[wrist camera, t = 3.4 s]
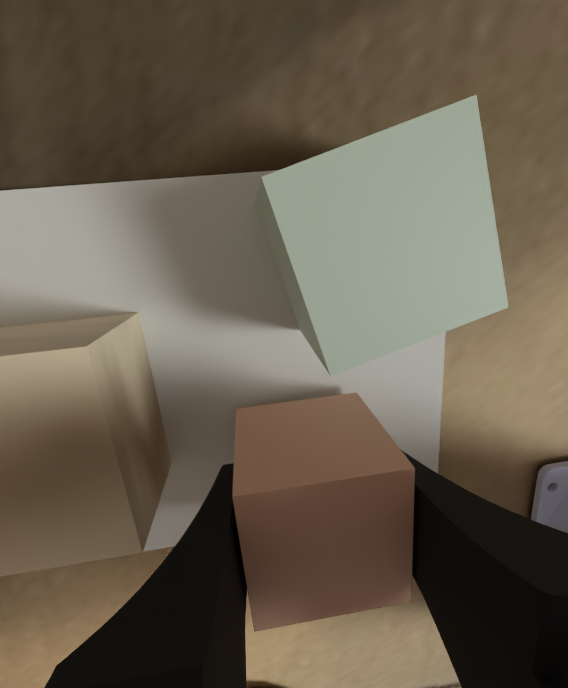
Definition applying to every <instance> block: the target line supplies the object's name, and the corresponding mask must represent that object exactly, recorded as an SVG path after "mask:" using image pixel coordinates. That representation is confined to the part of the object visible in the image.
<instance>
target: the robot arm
mask: <svg viewBox="0 0 568 688" xmlns="http://www.w3.org/2000/svg"><path fill="white" fill-rule="evenodd" d="M401 451H402V450H401ZM402 452H403V453H404V455H405V456H406V457H407V459H408V460H409V461H410V462H411V464H412V465H413V466H414V468H415V486H414V522H413V559H412V575H413V577H414V579H415V581H416V583H417V585H418V587H419V589H420V591H421V593H422V595H423V597H424V599H425V601H426V603H427V606H428V608H429V610H430V613H431V615H432V617H433V619H434V622H435V624H436V626H437V629H438V631H439V633H440V636H441V638H442V640H443V643H444V645H445V648H446V650H447V653H448V655H449V657H450V660H451V662H452V665H453V667H454V669H455V672H456V674H457V677H458V679H459V682H460V684H461V687H462V688H568V461H565V462H559V463H552V464H547V465H544V466H543V467H542V468H541V469H540V470H539V472H538V476H537V482H536V489H535V495H534V501H533V508H532V514H531V519H528V518H526V517H523V516H521V515H518V514H516V513H513V512H511V511H509V510H506V509H504V508H502V507H500V506H498V505H495V504H493V503H491V502H489V501H487V500H485V499H483V498H481V497H479V496H477V495H475V494H473V493H471V492H469V491H467V490H465V489H464V488H462V487H460V486H458V485H456V484H455V483H453V482H451V481H449V480H448V479H446V478H444V477H443V476H441V475H439V474H438V473H436V472H434V471H433V470H431V469H430V468H428V467H426V466H425V465H423V464H422V463H420V462H419V461H417V460H416V459H414V458H413V457H411V456H410V455H408V454H407V453H405V452H404V451H402ZM233 471H234V463H232V464H225V465H223V466H222V467H221V468H220V470H219V473H218V475H217V477H216V479H215V481H214V484H213V486H212V487H211V489H210V491H209V493H208V495H207V497H206V499H205V500H204V502H203V504H202V506H201V508H200V509H199V511H198V513H197V514H196V516H195V517H194V519H193V520H192V522H191V524H190V525H189V527H188V528H187V530H186V531H185V533H184V534H183V536H182V537H181V539H180V540H179V541H178V543H177V544H176V546H175V547H174V548H173V550H172V551H171V552H170V553H169V555H168V556H167V557H166V559H165V560H164V561H163V562H162V564H161V565H160V566H159V567H158V568H157V570H156V571H155V572H154V573H153V574H152V576H151V577H150V578H149V579H148V580H147V581H146V582H145V584H144V585H143V586H142V587H141V588H140V589H139V590H138V591H137V592H136V593H135V594H134V596H133V597H132V598H131V599H130V600H129V601H128V602H127V603H126V604H125V605H124V606H123V607H122V608H121V609H120V610H119V611H118V612H117V613H116V614H115V615H114V616H113V617H111V618H110V619H109V620H108V621H107V622H106V623H105V624H104V625H103V626H102V627H101V628H100V629H99V630H98V631H96V632H95V633H94V634H93V635H92V636H91V637H90V638H88V639H87V640H86V641H85V642H84V643H83V644H81V645H80V646H79V647H78V648H77V649H76V650H75V651H73V652H72V653H71V654H70V655H69V656H68V657H67V658H65V659H64V660H63V661H62V662H60V663H59V664H58V665H57V666H56V667H55V669H54V671H53V673H52V675H51V677H50V679H49V681H48V683H47V684H46V686H45V688H246V651H245V613H246V596H247V584H246V578H245V571H244V565H243V559H242V553H241V547H240V541H239V534H238V528H237V522H236V516H235V510H234V504H233V497H232V494H233Z"/></svg>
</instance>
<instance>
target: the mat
mask: <svg viewBox="0 0 568 688" xmlns="http://www.w3.org/2000/svg"><path fill="white" fill-rule="evenodd" d="M275 171H278V170H274V171H261V172H247V173H234V174H220V175H207V176H193V177H180V178H166V179H153V180H139V181H125V182H112V183H98V184H85V185H71V186H58V187H44V188H31V189H17V190H4V191H0V327H5V326H15V325H24V324H33V323H43V322H52V321H61V320H71V319H80V318H90V317H99V316H108V315H118V314H127V313H137V312H139V316H140V320H141V325H142V330H143V334H144V339H145V343H146V348H147V353H148V357H149V362H150V367H151V371H152V376H153V380H154V385H155V390H156V394H157V399H158V403H159V408H160V413H161V417H162V422H163V426H164V431H165V436H166V440H167V445H168V449H169V454H170V459H171V463H172V464H171V467H170V470H169V473H168V476H167V479H166V482H165V486H164V489H163V492H162V495H161V498H160V501H159V504H158V507H157V510H156V513H155V516H154V519H153V523H152V526H151V529H150V532H149V535H148V538H147V541H146V544H145V547H144V550H143V552H144V551H150V550H156V549H162V548H168V547H174V546H176V544H177V543H178V541H179V540H180V539H181V537H182V536H183V534H184V533H185V531H186V530H187V528H188V527H189V525H190V524H191V522H192V520H193V519H194V517H195V516H196V514H197V513H198V511H199V509H200V508H201V506H202V504H203V502H204V500H205V499H206V497H207V495H208V493H209V491H210V489H211V487H212V486H213V484H214V481H215V479H216V477H217V475H218V473H219V470H220V468H221V467H222V466H223V465H225V464H232V463H234V448H235V425H236V409H237V408H245V407H252V406H260V405H267V404H275V403H282V402H289V401H297V400H304V399H312V398H319V397H327V396H334V395H342V394H349V393H358V395H359V396H360V397H361V399H362V400H363V401H364V403H365V404H366V405H367V406H368V408H369V409H370V410H371V412H372V413H373V414H374V416H375V417H376V418H377V419H378V421H379V422H380V423H381V425H382V426H383V427H384V429H385V430H386V431H387V432H388V434H389V435H390V436H391V438H392V439H393V440H394V442H395V443H396V444H397V445H398V447H399V448H400V449H401V450H402V451H404V452H405V453H407V454H408V455H410V456H411V457H413V458H414V459H416V460H417V461H419V462H420V463H422V464H423V465H425V466H426V467H428V468H430V469H431V470H433V471H434V472H436V473H438V463H439V445H440V426H441V407H442V388H443V370H444V351H445V332H444V333H441V334H438V335H436V336H433V337H431V338H428V339H426V340H423V341H420V342H418V343H415V344H413V345H410V346H407V347H405V348H402V349H400V350H397V351H394V352H392V353H389V354H387V355H384V356H382V357H379V358H376V359H374V360H371V361H369V362H366V363H363V364H361V365H358V366H356V367H353V368H351V369H348V370H345V371H343V372H340V373H338V374H335V375H332V376H330V375H329V373H328V372H327V370H326V369H325V367H324V366H323V364H322V363H321V361H320V360H319V358H318V357H317V355H316V354H315V352H314V351H313V349H312V348H311V346H310V345H309V343H308V342H307V340H306V339H305V337H304V336H303V334H302V333H301V331H300V329H299V326H298V324H297V321H296V318H295V315H294V313H293V310H292V307H291V304H290V302H289V299H288V296H287V293H286V291H285V288H284V285H283V282H282V279H281V277H280V274H279V271H278V268H277V266H276V263H275V260H274V257H273V255H272V252H271V249H270V246H269V244H268V241H267V238H266V235H265V233H264V230H263V227H262V224H261V221H260V219H259V216H258V213H257V210H256V208H255V205H254V201H255V198H256V194H257V191H258V187H259V183H260V180H261V177H262V176H265V175H268V174H270V173H273V172H275Z"/></svg>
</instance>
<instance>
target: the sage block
mask: <svg viewBox="0 0 568 688" xmlns="http://www.w3.org/2000/svg"><path fill="white" fill-rule="evenodd" d="M254 205H255V208H256V210H257V213H258V216H259V219H260V221H261V224H262V227H263V230H264V233H265V235H266V238H267V241H268V244H269V246H270V249H271V252H272V255H273V257H274V260H275V263H276V266H277V268H278V271H279V274H280V277H281V279H282V282H283V285H284V288H285V291H286V293H287V296H288V299H289V302H290V304H291V307H292V310H293V313H294V315H295V318H296V321H297V324H298V326H299V329H300V331H301V333H302V334H303V336H304V337H305V339H306V340H307V342H308V343H309V345H310V346H311V348H312V349H313V351H314V352H315V354H316V355H317V357H318V358H319V360H320V361H321V363H322V364H323V366H324V367H325V369H326V370H327V372H328V373H329V375H330V376H332V375H335V374H338V373H340V372H343V371H345V370H348V369H351V368H353V367H356V366H358V365H361V364H363V363H366V362H369V361H371V360H374V359H376V358H379V357H382V356H384V355H387V354H389V353H392V352H394V351H397V350H400V349H402V348H405V347H407V346H410V345H413V344H415V343H418V342H420V341H423V340H426V339H428V338H431V337H433V336H436V335H438V334H441V333H444V332H446V331H449V330H451V329H454V328H457V327H459V326H462V325H464V324H467V323H469V322H472V321H475V320H477V319H480V318H482V317H485V316H488V315H490V314H493V313H495V312H498V311H500V310H503V309H506V308H508V301H507V294H506V288H505V281H504V274H503V268H502V261H501V255H500V248H499V241H498V235H497V228H496V221H495V215H494V208H493V202H492V195H491V188H490V182H489V175H488V169H487V162H486V155H485V149H484V142H483V135H482V129H481V122H480V116H479V109H478V102H477V96H476V95H475V96H472V97H469V98H467V99H464V100H462V101H459V102H456V103H454V104H451V105H448V106H446V107H443V108H441V109H438V110H435V111H433V112H430V113H427V114H425V115H422V116H420V117H417V118H414V119H412V120H409V121H406V122H404V123H401V124H399V125H396V126H393V127H391V128H388V129H386V130H383V131H380V132H378V133H375V134H372V135H370V136H367V137H365V138H362V139H359V140H357V141H354V142H351V143H349V144H346V145H344V146H341V147H338V148H336V149H333V150H330V151H328V152H325V153H323V154H320V155H317V156H315V157H312V158H310V159H307V160H304V161H302V162H299V163H296V164H294V165H291V166H289V167H286V168H283V169H281V170H278V171H275V172H273V173H270V174H268V175H265V176H262V177H261V180H260V183H259V187H258V191H257V194H256V198H255V201H254Z"/></svg>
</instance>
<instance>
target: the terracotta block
mask: <svg viewBox="0 0 568 688" xmlns="http://www.w3.org/2000/svg"><path fill="white" fill-rule="evenodd" d="M414 486H415V468H414V466H413V465H412V464H411V462H410V461H409V460H408V459H407V457H406V456H405V455H404V453H403V452H402V451H401V449H400V448H399V447H398V445H397V444H396V443H395V442H394V440H393V439H392V438H391V436H390V435H389V434H388V432H387V431H386V430H385V429H384V427H383V426H382V425H381V423H380V422H379V421H378V419H377V418H376V417H375V416H374V414H373V413H372V412H371V410H370V409H369V408H368V406H367V405H366V404H365V403H364V401H363V400H362V399H361V397H360V396H359V395H358V393H349V394H342V395H334V396H327V397H319V398H312V399H304V400H297V401H289V402H282V403H275V404H267V405H260V406H252V407H245V408H237V409H236V425H235V448H234V471H233V494H232V497H233V504H234V510H235V516H236V522H237V528H238V534H239V541H240V547H241V553H242V559H243V565H244V571H245V578H246V584H247V590H248V596H249V602H250V608H251V615H252V621H253V627H254V631H260V630H265V629H270V628H275V627H281V626H286V625H291V624H296V623H302V622H307V621H312V620H317V619H323V618H328V617H333V616H339V615H344V614H349V613H354V612H360V611H365V610H370V609H375V608H381V607H386V606H391V605H396V604H402V603H407V602H411V596H412V559H413V522H414Z"/></svg>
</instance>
